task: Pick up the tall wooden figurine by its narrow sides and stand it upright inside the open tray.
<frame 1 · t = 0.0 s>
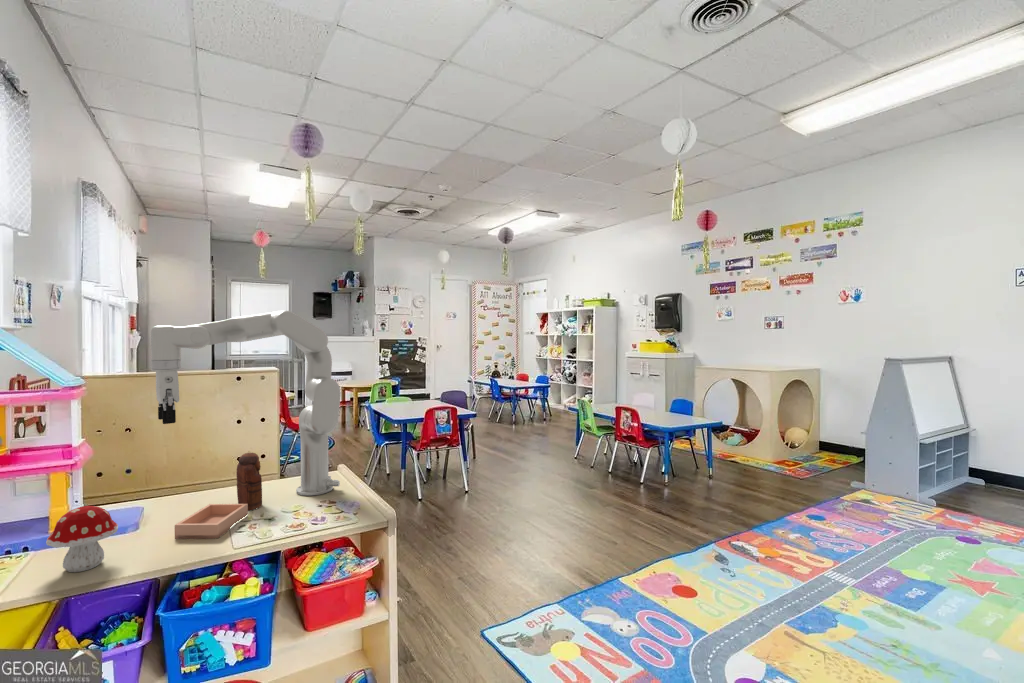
hand: (166, 421, 152), 31 cm above the table, tool pointing down, fingers open, 9 cm apart
wooden figurine: (250, 506, 167), on the table
tray: (213, 526, 148), on the table
decorative mushroom: (84, 567, 123), on the table
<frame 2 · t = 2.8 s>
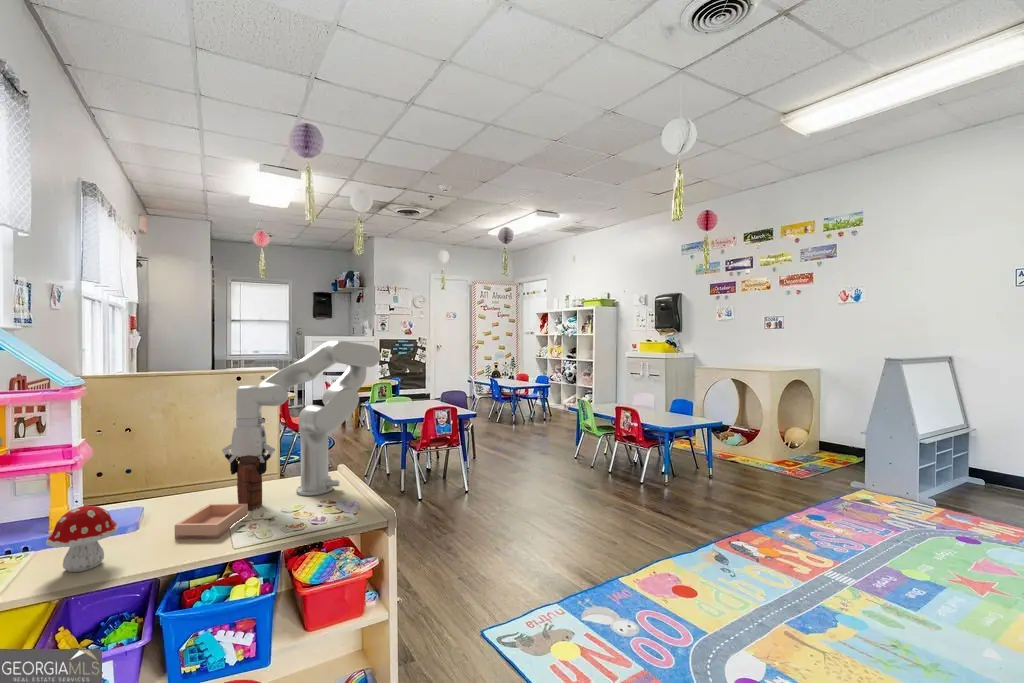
hand: (248, 473, 166), 11 cm above the table, tool pointing down, fingers closed on wooden figurine, 8 cm apart
wooden figurine: (250, 506, 167), on the table, touching gripper
everything else where it was.
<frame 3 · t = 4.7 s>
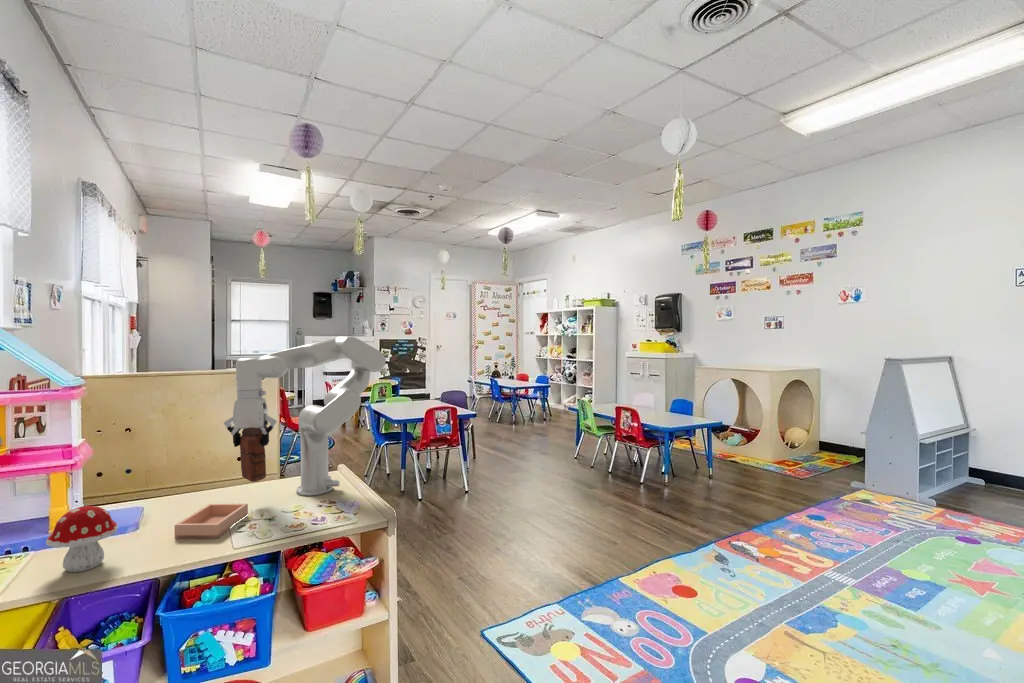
hand: (251, 445, 166), 20 cm above the table, tool pointing down, fingers closed on wooden figurine, 8 cm apart
wooden figurine: (254, 478, 167), point 9 cm above the table, touching gripper
everything else where it was.
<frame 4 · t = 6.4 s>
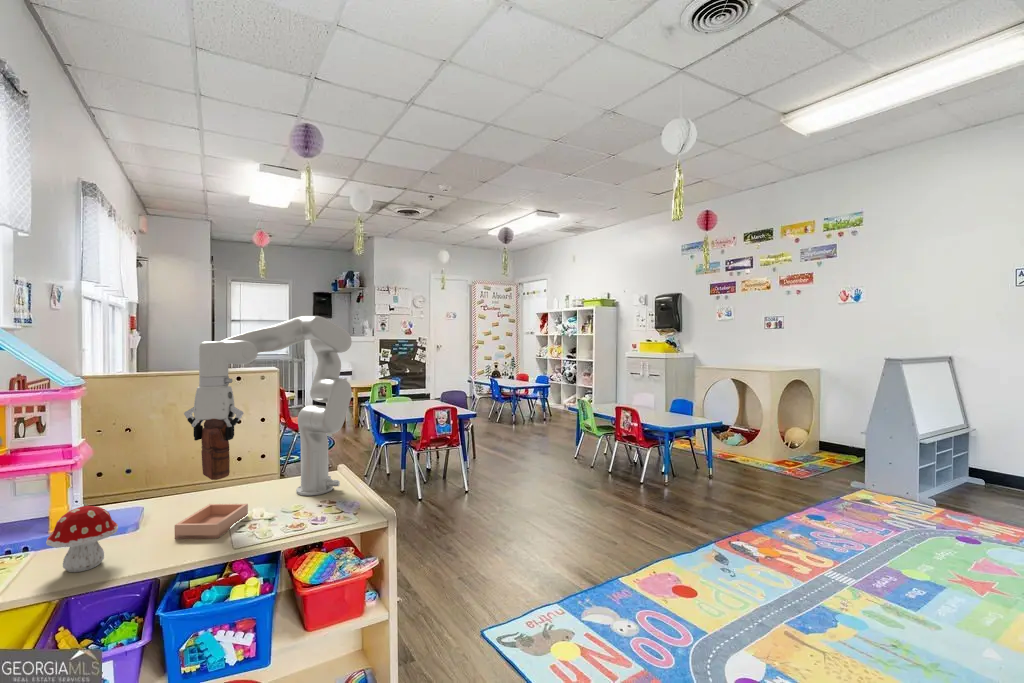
hand: (214, 439, 149), 26 cm above the table, tool pointing down, fingers closed on wooden figurine, 8 cm apart
wooden figurine: (215, 476, 149), point 15 cm above the table, touching gripper
everything else where it was.
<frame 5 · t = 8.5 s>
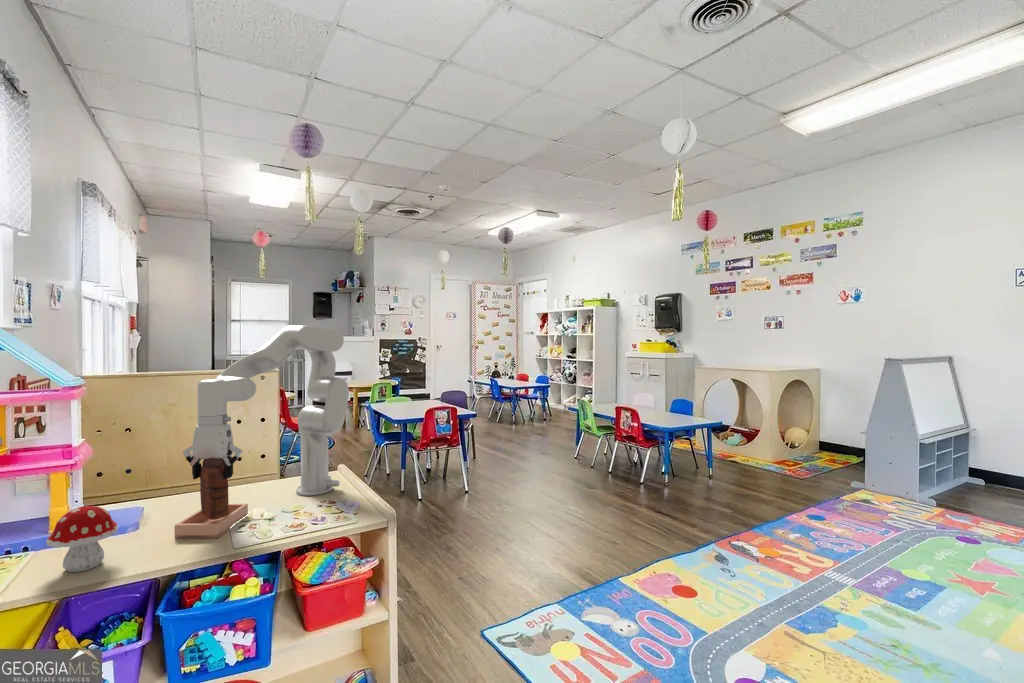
hand: (212, 477, 148), 15 cm above the table, tool pointing down, fingers closed on wooden figurine, 8 cm apart
wooden figurine: (214, 514, 149), point 4 cm above the table, touching gripper
everything else where it was.
when the fingers open (13 cm above the table, at t = 10.1 s): wooden figurine stays where it is, resting on tray.
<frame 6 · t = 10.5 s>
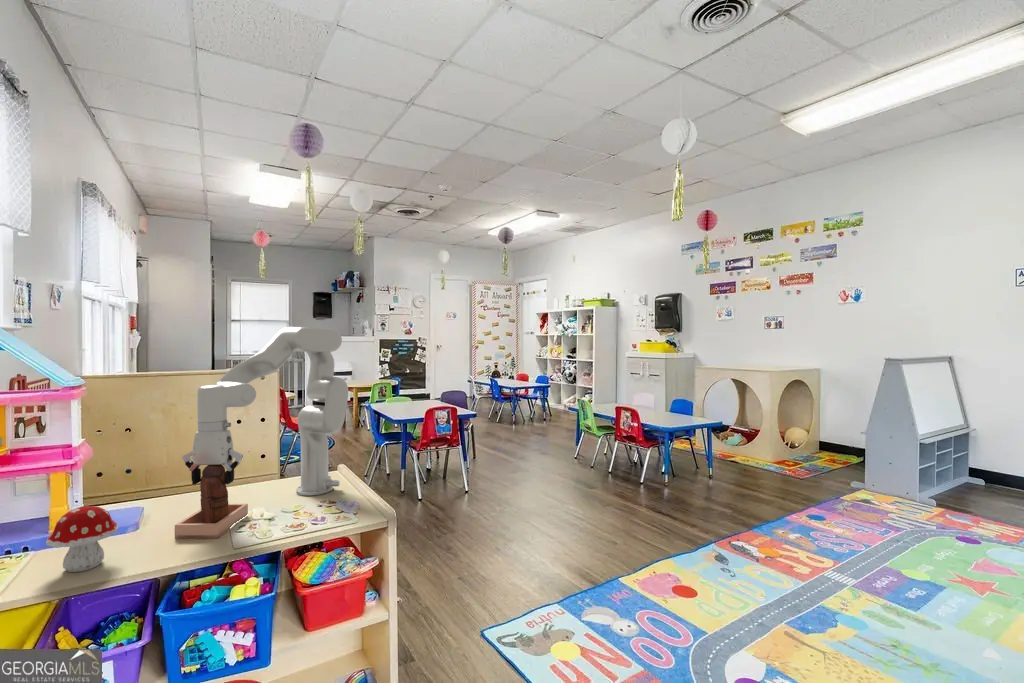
hand: (213, 483, 148), 13 cm above the table, tool pointing down, fingers open, 9 cm apart
wooden figurine: (215, 523, 149), point 1 cm above the table, touching tray
everything else where it was.
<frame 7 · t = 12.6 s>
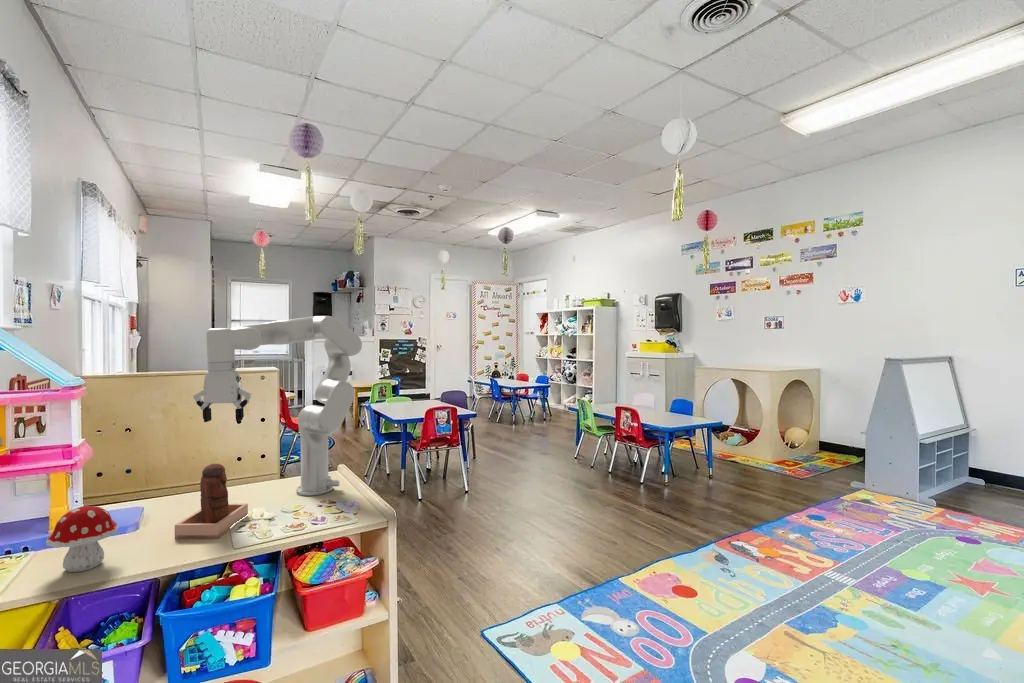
hand: (223, 420, 156), 31 cm above the table, tool pointing down, fingers open, 9 cm apart
nothing on the table moved.
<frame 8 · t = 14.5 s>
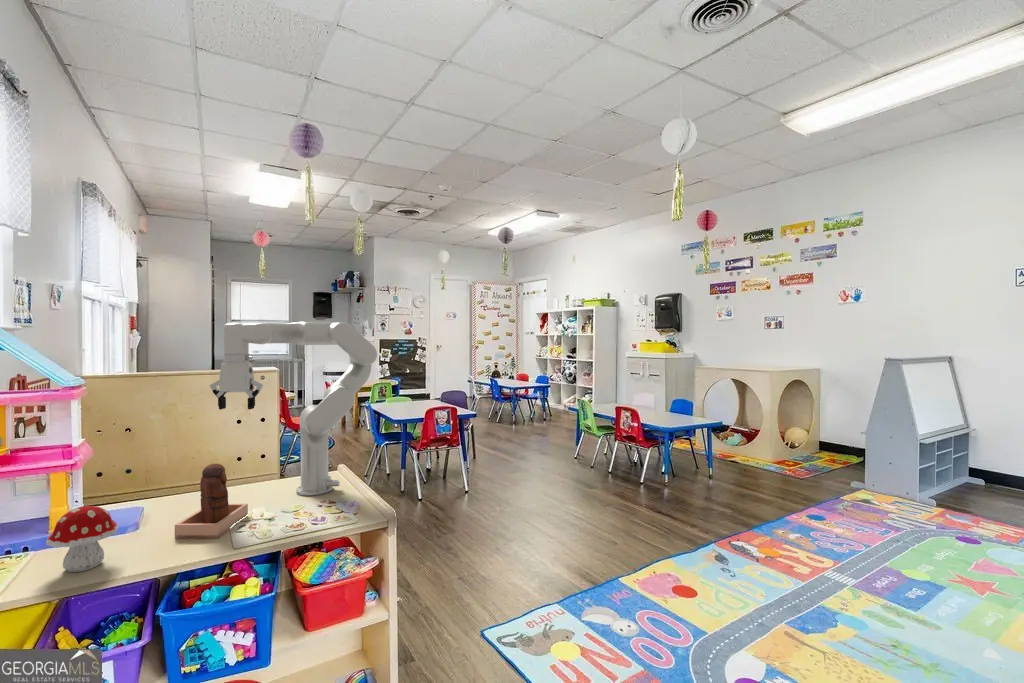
hand: (236, 408, 169), 32 cm above the table, tool pointing down, fingers open, 9 cm apart
nothing on the table moved.
at the end: wooden figurine inside the target area on the tray (0.5 cm from its centre), point 0.8 cm above the tray's base; wooden figurine tilted 0°; the gripper is holding nothing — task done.
